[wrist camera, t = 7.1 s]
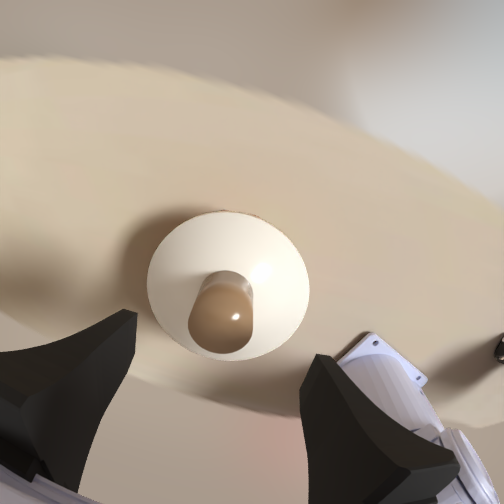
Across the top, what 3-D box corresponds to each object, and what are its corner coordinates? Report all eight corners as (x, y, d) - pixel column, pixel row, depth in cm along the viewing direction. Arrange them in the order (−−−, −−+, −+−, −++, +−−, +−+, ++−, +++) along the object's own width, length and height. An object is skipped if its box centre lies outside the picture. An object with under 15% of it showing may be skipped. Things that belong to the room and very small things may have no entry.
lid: (339, 280, 17) (360, 314, 14) (239, 376, 20) (237, 420, 16) (212, 175, 16) (199, 182, 12) (124, 296, 18) (97, 330, 14)
